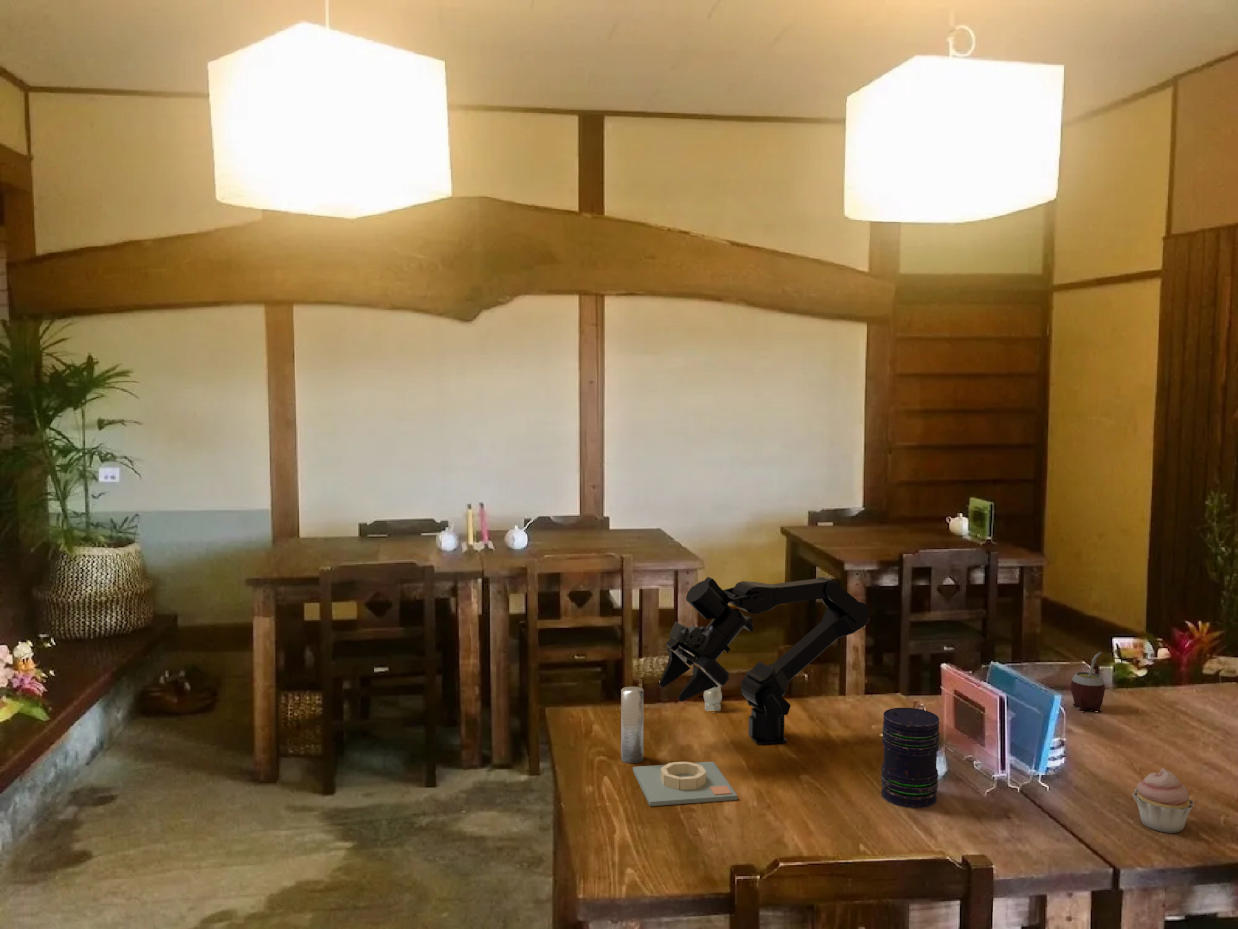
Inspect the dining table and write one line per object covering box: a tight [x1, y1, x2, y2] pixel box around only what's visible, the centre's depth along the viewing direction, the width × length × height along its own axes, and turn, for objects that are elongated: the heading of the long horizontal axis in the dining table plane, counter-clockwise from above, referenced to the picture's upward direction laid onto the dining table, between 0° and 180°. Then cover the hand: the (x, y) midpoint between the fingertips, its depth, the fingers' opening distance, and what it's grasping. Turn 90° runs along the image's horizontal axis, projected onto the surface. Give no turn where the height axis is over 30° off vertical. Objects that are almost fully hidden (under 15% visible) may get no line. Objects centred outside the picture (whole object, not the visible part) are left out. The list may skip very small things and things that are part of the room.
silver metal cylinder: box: [620, 686, 645, 764], centre depth 197 cm, size 4×4×14 cm
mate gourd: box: [1070, 651, 1106, 713], centre depth 227 cm, size 8×8×15 cm
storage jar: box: [880, 707, 940, 809], centre depth 180 cm, size 10×10×15 cm
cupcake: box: [1131, 767, 1195, 834], centre depth 169 cm, size 9×9×10 cm
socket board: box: [632, 761, 738, 807], centre depth 185 cm, size 16×16×3 cm
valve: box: [698, 683, 723, 712], centre depth 231 cm, size 7×7×12 cm
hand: (669, 693), depth 200 cm, fingers open, 9 cm apart
